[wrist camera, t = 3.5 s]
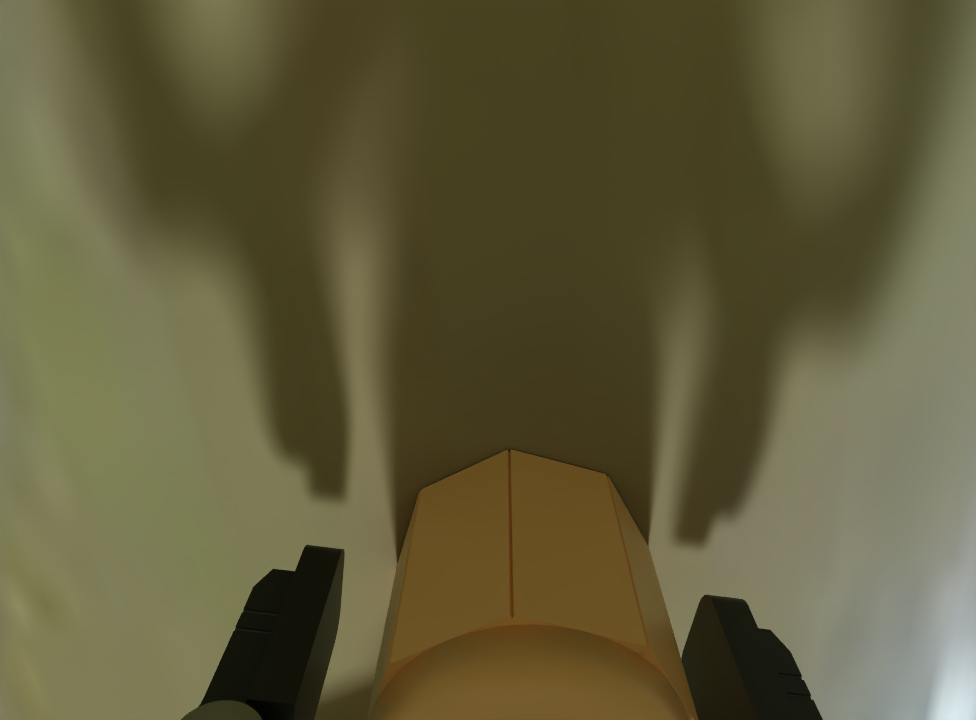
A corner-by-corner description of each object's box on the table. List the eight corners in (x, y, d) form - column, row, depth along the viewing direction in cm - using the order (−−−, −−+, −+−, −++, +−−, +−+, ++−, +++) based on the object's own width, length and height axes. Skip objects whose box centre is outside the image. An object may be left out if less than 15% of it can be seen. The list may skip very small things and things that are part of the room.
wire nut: (575, 418, 14) (623, 662, 9) (676, 595, 16) (769, 893, 10) (359, 518, 15) (277, 792, 10) (476, 673, 17) (463, 981, 11)
